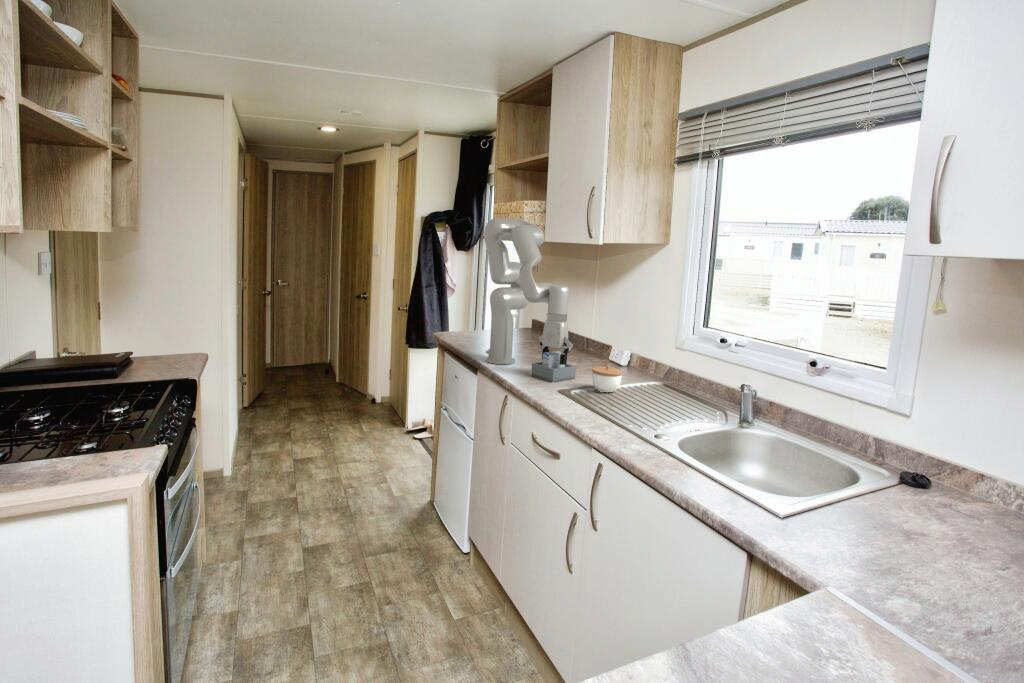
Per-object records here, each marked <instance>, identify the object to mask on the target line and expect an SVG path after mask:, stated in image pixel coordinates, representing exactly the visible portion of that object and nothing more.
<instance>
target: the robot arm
mask: <svg viewBox="0 0 1024 683" xmlns="http://www.w3.org/2000/svg"><path fill="white" fill-rule="evenodd" d="M483 238H484V239H483V240H484V244H485V247H486V250H487V258H488V264H489V274H490V279H491V281H492V282H493V283H494V284H495V285H509V286H510V287H509V286H506V287H505V286H504V287H503V286H501V287H496V288H495V289H493V290H492V292H491V293H490V295H489V303H490V304H489V306H490V312H491V313H490V314H491V315H490V316H491V317H490V321H491V322H490V337H489V338H490V339H489V348H488V350H485V353H486V354H487V355H488V356H487V357H486V358H485V362H486V361H487V363H488V362H489V363H488V364H492V363H493V364H494V365H501V364H506V365H512V364H515V363H516V358H514V357H513V343H514V329H515V328H514V323H515V322H514V320H515V319H514V316H513V314H512V312H511V311H515V310H522V309H525V308H526V307H527V306H528V304H529V302H530V303H532V304H534V303H535V304H536V303H537V304H538V303H547V313H546V320H544V321H545V322H544V325H543V331H542V335H541V336H539V337H538V340H539V345H540V347H541V351H542V354H541V360H542V361H543V353H545V352H550V349H549V348H551V349H556V350H559V352H561V354H560V365H564V364H568V362H567V361H568V355H569V354H570V352H571V351H572V348H573V347H574V344H573V343H572V342H571V341H570V339H569V325H568V311H569V310H568V308H569V295H570V289H569V287H568V286H567V285H562V284H559V285H558V284H555V283H552V282H535V279H534V276H533V273H532V270H533V267H535V266H536V265H538V264H539V263H540V262H541V261H542V253H541V251H540V249H539V247H540V246H542V244H543V243H544V241H545V233H544V230H543V229H542V228H541V227H540V226H538V225H537V224H534V223H531V222H528V221H525V220H523V219H519V218H507V217H494V218H491V219H490V220H488V221H487V222H486V225H485V226H484V230H483ZM503 240H511V242H512V243H513V246H514V248H515V251H516V254H517V256H518V259H519V261H520V262H518V261H510V258H509V250H508V248H507V246H506V244H505V243H504V241H503ZM493 364H492V365H493Z"/></svg>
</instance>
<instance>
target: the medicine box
mask: <svg viewBox="0 0 1024 683" xmlns="http://www.w3.org/2000/svg"><path fill="white" fill-rule="evenodd" d="M560 354H561V351H549V352H545V353H543V360H542V362H543V363H542V366H546V367H549V368H552V369H556V368H563V367H565V364H564V365H560Z"/></svg>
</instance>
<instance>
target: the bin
mask: <svg viewBox="0 0 1024 683" xmlns="http://www.w3.org/2000/svg"><path fill="white" fill-rule="evenodd" d="M542 363H543V361H538V362H532V363H531V369H530V370H531V371H530V372H531V374H530V376H531V375H532V377H534V376H535V378H537V377H538V379H540V378H541V379H540V380H543V379H544V380H543V381H546V380H547V382H550V383H552V382H553V383H558V382H564V380H565V381H570V379H571V380H576V369H577V368H576V367H577V366H575V365H573V364H570V363H567V364H565V367H563V368H556V369H552V368H549V367H546V366H542Z"/></svg>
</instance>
